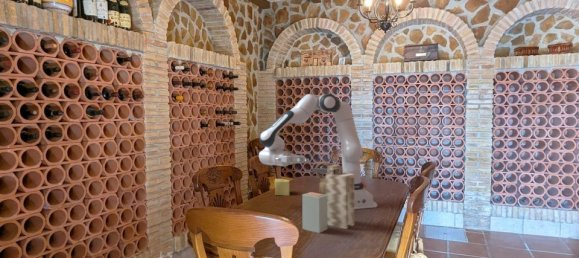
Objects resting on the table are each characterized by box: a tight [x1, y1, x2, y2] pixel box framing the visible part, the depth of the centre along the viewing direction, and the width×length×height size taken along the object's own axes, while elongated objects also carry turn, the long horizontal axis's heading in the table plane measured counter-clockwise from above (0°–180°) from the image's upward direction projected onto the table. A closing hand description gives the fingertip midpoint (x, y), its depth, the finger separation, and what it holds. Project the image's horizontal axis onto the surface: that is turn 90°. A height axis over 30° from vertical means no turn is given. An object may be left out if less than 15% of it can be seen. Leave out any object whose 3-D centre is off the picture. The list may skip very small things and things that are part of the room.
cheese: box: [274, 178, 290, 196], centre depth 251 cm, size 10×11×10 cm
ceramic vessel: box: [315, 161, 338, 195], centre depth 233 cm, size 18×19×25 cm
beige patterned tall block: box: [325, 164, 355, 230], centre depth 182 cm, size 12×8×30 cm, turn 51°
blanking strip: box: [311, 167, 338, 174], centre depth 187 cm, size 14×3×2 cm, turn 51°
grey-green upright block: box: [301, 191, 328, 234], centre depth 176 cm, size 10×7×17 cm
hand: (304, 160), depth 200 cm, fingers open, 8 cm apart
